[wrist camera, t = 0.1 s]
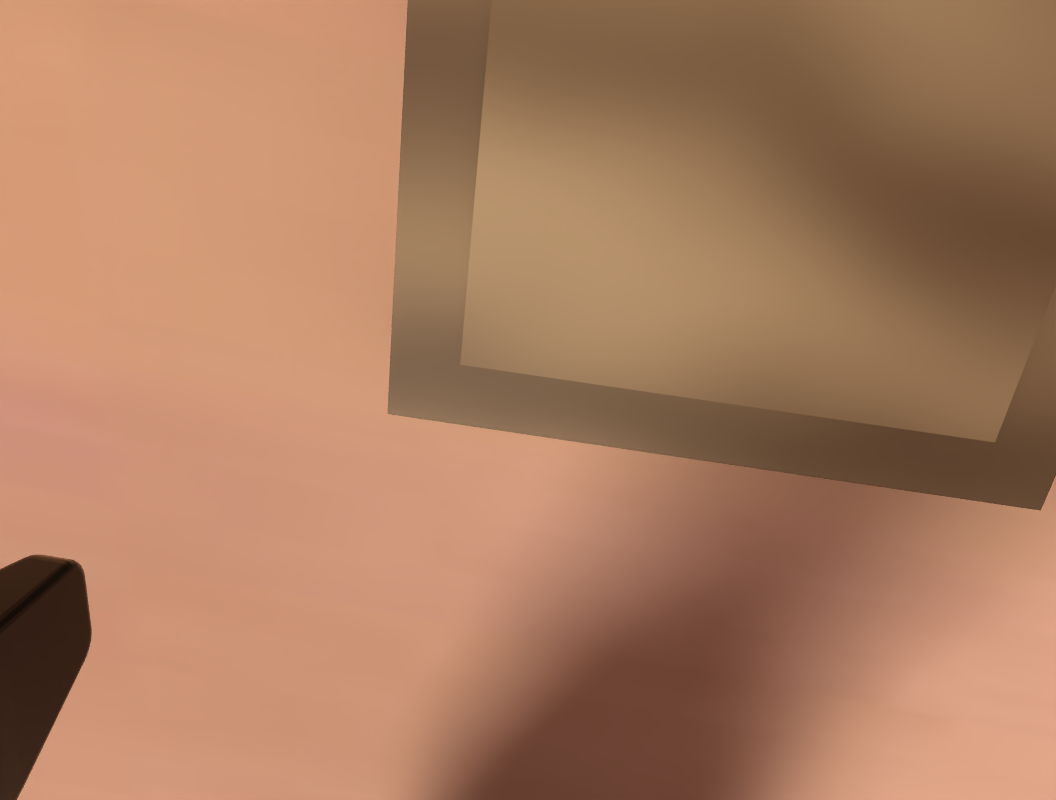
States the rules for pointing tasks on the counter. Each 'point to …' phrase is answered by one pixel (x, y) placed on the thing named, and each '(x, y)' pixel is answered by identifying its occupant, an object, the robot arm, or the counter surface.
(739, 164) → the base board
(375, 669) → the counter surface
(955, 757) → the counter surface
